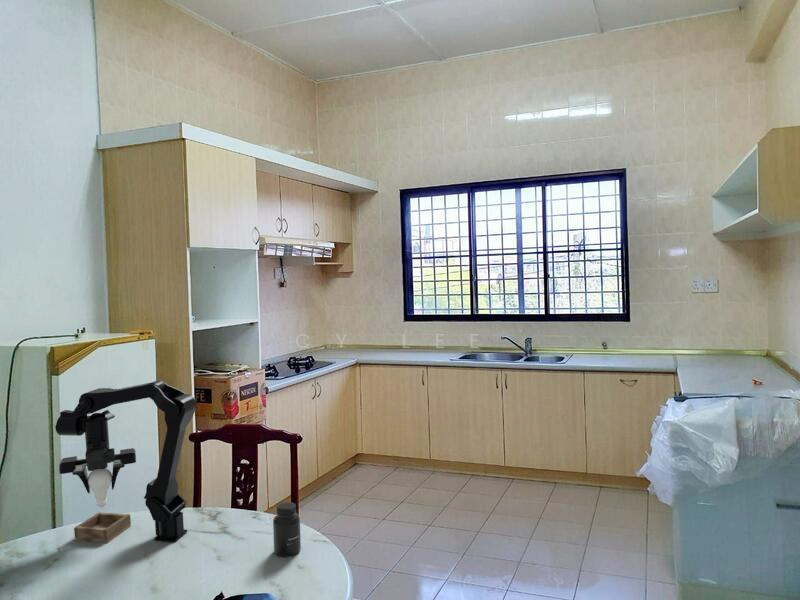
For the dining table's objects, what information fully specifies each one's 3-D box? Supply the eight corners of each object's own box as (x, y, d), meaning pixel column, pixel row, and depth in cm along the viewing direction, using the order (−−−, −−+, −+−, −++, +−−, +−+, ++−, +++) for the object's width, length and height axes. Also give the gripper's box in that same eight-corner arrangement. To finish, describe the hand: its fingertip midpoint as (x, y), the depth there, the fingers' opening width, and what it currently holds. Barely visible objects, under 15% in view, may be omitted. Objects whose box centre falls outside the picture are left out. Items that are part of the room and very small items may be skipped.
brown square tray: (130, 526, 176) (130, 514, 176) (107, 542, 167) (106, 530, 166) (99, 524, 178) (98, 512, 178) (74, 540, 169) (74, 527, 168)
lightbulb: (119, 503, 174) (116, 465, 173) (102, 512, 168) (99, 472, 167) (101, 501, 176) (99, 463, 175) (84, 510, 170) (81, 470, 169)
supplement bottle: (295, 558, 155) (293, 511, 154) (269, 556, 157) (267, 510, 156) (305, 545, 162) (303, 500, 161) (280, 543, 163) (278, 499, 162)
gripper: (54, 449, 159) (59, 508, 160) (134, 438, 166) (137, 494, 168) (59, 437, 169) (63, 493, 171) (133, 427, 177) (137, 481, 178)
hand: (101, 491), depth 171 cm, fingers closed on lightbulb, 5 cm apart
